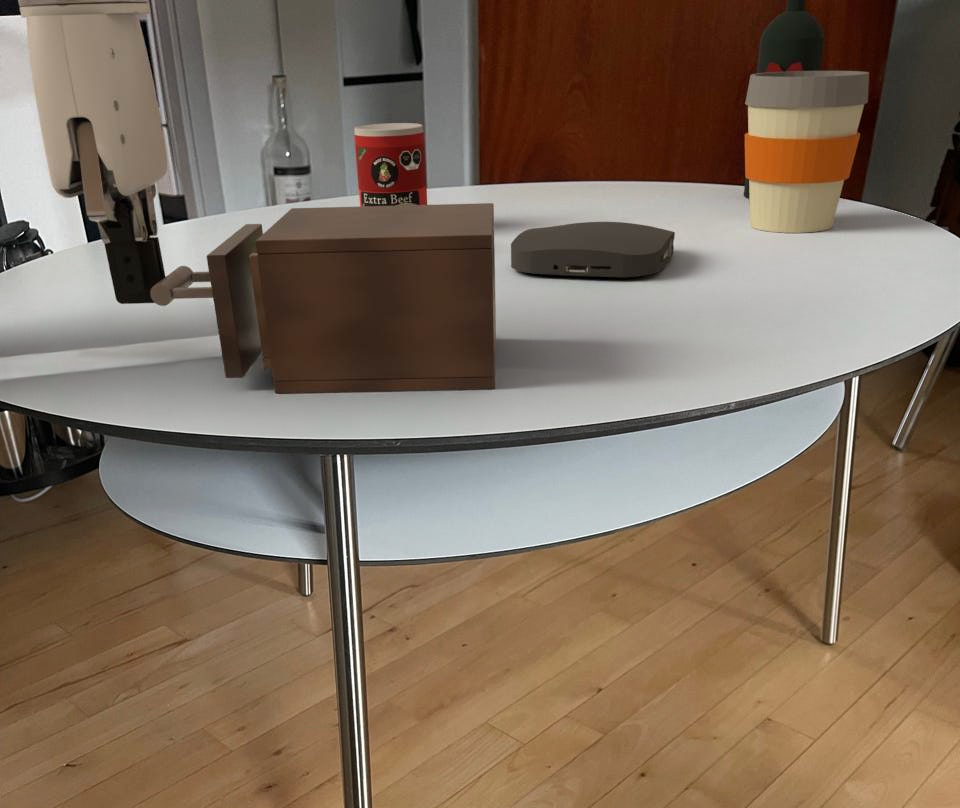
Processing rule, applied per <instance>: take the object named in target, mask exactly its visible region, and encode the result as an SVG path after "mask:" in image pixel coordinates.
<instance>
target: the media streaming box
mask: <svg viewBox="0 0 960 808" xmlns="http://www.w3.org/2000/svg"><path fill="white" fill-rule="evenodd" d="M675 234H676V233H675V231H674V230H673V231H672V230H668V229H665V228H661V227H656V226H651V225H645V224H639V223H633V222H632V223H631V222H621V221H586V222H576V223H575V222H574V223H565V224H561V225H560V224H559V225H553V226H545V227H534V228H533V227H532V228H528V229H526V230H523V231H521V232H520V233H519V234H517V235H516V236H515V238H514V239H513V240H512V241H511V243H510V267H511V269H512V270H515V271H517V272H521V273H526V274H534V275H546V276H563V277H564V276H565V277H587V278H591V277H592V278H618V279H619V278H620V279H621V278H622V279H627V278H636V277H646V276H650V275H654V274H657V273H659V272H661V271H662V270H663V269H664V268H665V266H666V265H667V264H668V263H669V262H670V260H671V259H672V257H673V256H674V249H675V247H674V241H675V236H676V235H675Z"/></svg>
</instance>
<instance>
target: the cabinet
mask: <svg viewBox="0 0 960 808" xmlns="http://www.w3.org/2000/svg"><path fill="white" fill-rule="evenodd" d="M255 245H256V252H257V260H258V267H259V275H260V282H261V290H262V297H263V305H264V312H265V320H266V327H267V335H268V342H269V350H270V357H271V365H272V370H271V371H272V372H271V373H272V378H273V379H272V381H273V386H274V393H275V394H300V393H301V394H303V393H304V394H306V393H307V394H309V393H350V392H351V393H352V392H353V393H354V392H355V393H357V392H359V393H360V392H405V391H455V390H456V391H458V390H460V391H461V390H462V391H463V390H494V389H496V363H497V362H496V361H497V360H496V358H497V357H496V356H497V355H496V354H497V315H496V314H497V312H496V309H497V308H496V259H495V254H496V253H495V251H496V250H495V204H494V203H493V202H485V203H483V202H482V203H481V202H480V203H446V204H445V203H444V204H443V203H441V204H427V205H402V206H363V207H360V206H333V207H332V206H331V207H328V206H326V207H291V208H290V209H289V210H288V211H287V212H286V213H284V214H283V215H282V217H280V218H279V219H278V220H277V221H276V222H275V223H274V224H272V226H270V227H269V228H268V229H267V230H266V231H265V232H263V235H261V236H260V237H259V238H258V239H257V240H256V241H255Z"/></svg>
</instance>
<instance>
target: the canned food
mask: <svg viewBox="0 0 960 808" xmlns="http://www.w3.org/2000/svg"><path fill="white" fill-rule="evenodd" d="M353 135H354V136H353V137H354V146H355V147H354V148H355V160H356V161H355V162H356V173H357V185H358V194H359V195H358V196H359V207H363V206H396V205H399V204H402V203H413V204H417V205H428V190H427V189H428V188H427V186H428V185H427V169H426V168H427V165H426V143H425V131H424V125H423V124H421V123H414V122H413V123H412V122H411V123H410V122H388V123H387V122H386V123H372V124H363V125H359V126H358V125H357V126H355V127H354V133H353Z"/></svg>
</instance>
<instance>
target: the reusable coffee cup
mask: <svg viewBox="0 0 960 808" xmlns="http://www.w3.org/2000/svg"><path fill="white" fill-rule="evenodd" d="M869 84H870V72H869V71H860V70H821V71H789V72H769V73H757V72H756V73H752V74H750V76H749V82H748V86H747V92H746V97H745V102H744V104H745V105H746V106H747V119H748V120H747V122H748V123H747V124H748V126H747V127H748V132H746V133H744V170H745V171H744V175H745V176H744V177H745V178H747V179H749V195H750V198H749V226H750V227H751V228H753V229H754V230H758V231H763V232H771V233H784V234H785V233H786V234H790V233H791V234H799V233H800V234H803V233H816V232H823V231H827V230H830V229H832V227H833V224H834V221H835V217H836V213H837V209H838V205H839V202H840V197H841V194H842V190H843V187H844V184H845V183H844V182H845V180H849V178H850V175H851V171H852V167H853V164H854V159H855V157H856V152H857V149H858V145H859V141H860V137H861V133H860V132H858V129H859V126H860V122H861V118H862V115H863V110H864V107H865V105H866V104H868V102H869V87H870V85H869Z"/></svg>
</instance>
